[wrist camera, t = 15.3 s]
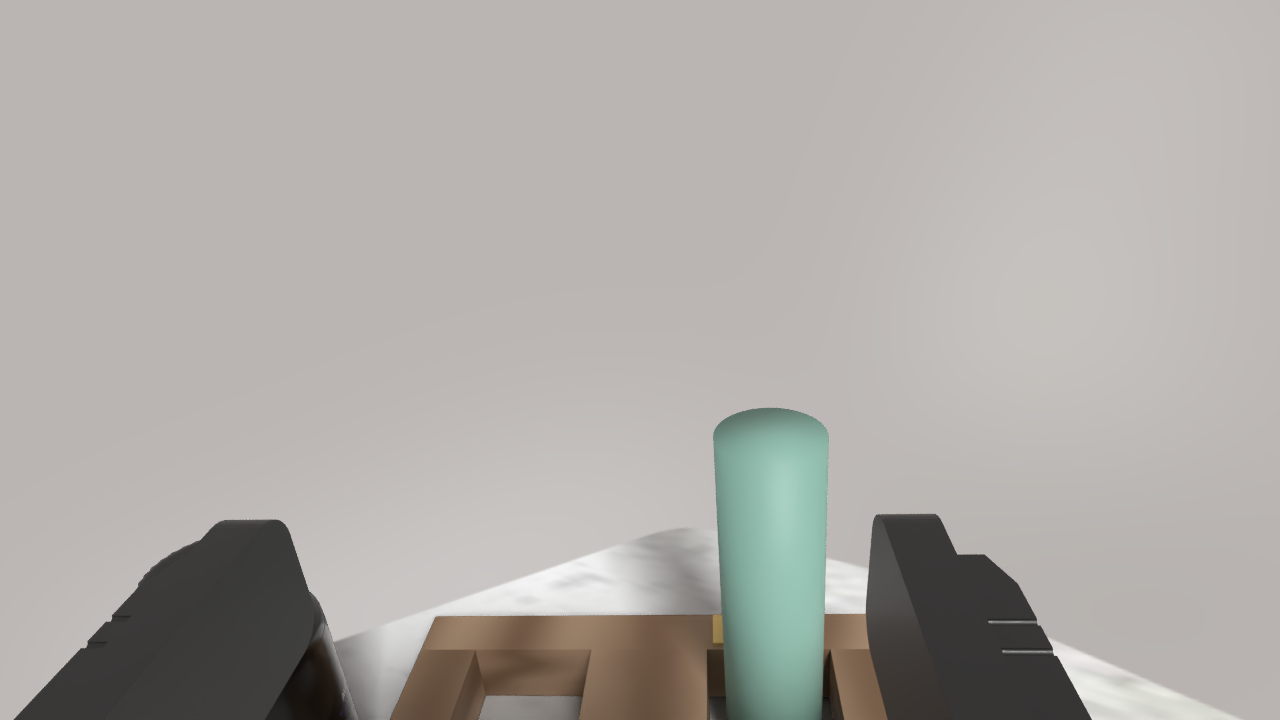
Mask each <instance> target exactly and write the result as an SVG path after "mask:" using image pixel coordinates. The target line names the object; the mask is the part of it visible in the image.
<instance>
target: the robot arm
mask: <svg viewBox="0 0 1280 720" xmlns="http://www.w3.org/2000/svg"><path fill="white" fill-rule="evenodd" d="M313 625H314V608H313V603H312V599H311V596H310V593H309V590H308V587H307V584H306V581H305V578H304V575H303V572H302V569H301V566H300V563H299V560H298V557H297V554H296V551H295V548H294V545H293V542H292V539H291V535H290V533H289V530H288V528H287V527H286V525H285V524H284V523H283V522H281V521H279V520H224V521H221V522H219V523H217V524H216V525H214V526H213V527H212V528H211V529H210V530H209V532H208V533H207V534H206V535H205V536H204V537H203V538H202V539H201V540H200V541H199V542H198V544H197V545H196V546H195V547H194V548H193V549H192V550H191V551H190V552H189V553H188V554H187V556H186V557H185V558H180V559H178V560H177V561H175V562H174V563H172V564H171V565H169V566H168V567H166V568H165V569H163V570H162V571H160V572H159V573H157V574H156V575H155V576H153V577H152V578H150V579H149V580H147V581H146V582H144V583H143V584H141V585H140V586H139V587H138V588H137V590H136V591H135V592H134V593H133V594H132V595H131V596H130V597H129V598H128V599H127V600H126V601H125V602H124V603H123V604H122V605H121V607H120V608H119V609H118V610H117V611H116V612H115V613H114V614H113V615H112V621H111V622H105V623H104V625H103V626H102V627H101V628H100V629H99V630H98V631H97V632H96V633H95V634H94V635H93V636H92V637H91V638H90V639H89V640H88V645H87V647H86V648H81V649H80V650H79V651H78V652H77V653H76V654H75V655H74V656H73V657H72V658H71V659H70V661H69V662H68V663H67V664H66V665H65V666H64V667H63V668H62V669H61V670H60V671H59V672H58V673H57V674H56V675H55V676H54V677H53V679H52V680H51V681H50V682H49V683H48V684H47V685H46V686H45V687H44V688H43V689H42V690H41V691H40V692H39V693H38V694H37V695H36V697H35V698H34V699H33V700H32V701H31V702H30V703H29V704H28V705H27V706H26V707H25V708H24V709H23V710H22V711H21V712H20V714H19V715H18V716H17V717H16V718H15V719H14V720H265V718H266V717H267V715H268V713H269V712H270V710H271V708H272V707H273V705H274V703H275V702H276V700H277V698H278V696H279V695H280V693H281V691H282V690H283V688H284V686H285V685H286V683H287V681H288V680H289V678H290V676H291V675H292V673H293V671H294V670H295V668H296V666H297V665H298V663H299V661H300V660H301V658H302V656H303V655H304V653H305V651H306V649H307V647H308V645H309V642H310V639H311V636H312V631H313ZM866 626H867V636H868V643H869V649H870V654H871V658H872V662H873V666H874V669H875V673H876V677H877V681H878V685H879V688H880V692H881V696H882V700H883V704H884V707H885V711H886V715H887V719H888V720H1092V719H1091V717H1090V715H1089V714H1088V712H1087V710H1086V708H1085V706H1084V704H1083V703H1082V701H1081V699H1080V697H1079V695H1078V693H1077V692H1076V690H1075V688H1074V686H1073V684H1072V682H1071V681H1070V679H1069V677H1068V675H1067V673H1066V671H1065V670H1064V668H1063V666H1062V664H1061V662H1060V660H1059V659H1058V657H1057V656H1054V654H1053V648H1052V646H1051V644H1050V642H1049V640H1048V638H1047V637H1046V635H1045V633H1044V631H1043V629H1042V627H1041V626H1038V625H1037V618H1036V616H1035V615H1034V613H1033V611H1032V609H1031V607H1030V605H1029V604H1028V602H1027V600H1026V598H1025V596H1024V595H1023V592H1022V591H1021V589H1020V587H1019V585H1018V584H1017V583H1016V582H1015V581H1014V580H1013V579H1012V578H1011V577H1009V576H1008V575H1007V574H1006V573H1005V572H1004V571H1003V570H1001V569H1000V568H999V567H998V566H997V565H996V564H995V563H993V562H992V561H991V560H990V559H989V558H988V557H987V556H985V555H957V553H956V551H955V549H954V547H953V545H952V543H951V540H950V539H949V536H948V534H947V532H946V530H945V528H944V525H943V523H942V522H941V520H940V518H939V517H938V516H937V515H936V514H885V515H884V514H881V515H876V516H875V518H874V521H873V527H872V538H871V550H870V563H869V574H868V586H867V598H866Z"/></svg>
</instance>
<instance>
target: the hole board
mask: <svg viewBox="0 0 1280 720" xmlns="http://www.w3.org/2000/svg"><path fill="white" fill-rule="evenodd" d="M486 695H534V696H583V698H582V704H581V710H580V715H579V720H710V696H718V697H726V688H725V668H724V647H723V626H722V615H607V616H438V617H435V619H434V622H433V624H432V626H431V628H430V631H429V633H428V635H427V637H426V640H425V642H424V644H423V646H422V648H421V651H420V653H419V655H418V657H417V660H416V662H415V664H414V666H413V669H412V671H411V673H410V675H409V678H408V680H407V682H406V684H405V686H404V689H403V691H402V693H401V695H400V698H399V700H398V702H397V704H396V707H395V709H394V711H393V713H392V716H391V718H390V720H478V718H479V715H480V712H481V709H482V706H483V703H484V700H485V696H486ZM822 697H829V699H830V705H831V710H832V716H833V720H888V719H887V715H886V711H885V707H884V704H883V700H882V696H881V692H880V688H879V685H878V681H877V677H876V673H875V669H874V666H873V662H872V658H871V654H870V649H869V643H868V636H867V626H866V614H824V654H823V696H822Z"/></svg>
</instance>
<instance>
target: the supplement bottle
mask: <svg viewBox="0 0 1280 720" xmlns="http://www.w3.org/2000/svg"><path fill="white" fill-rule="evenodd" d="M198 542H199V541H196V542H194V543H192V544H191V545H187V546H185V547H183V548H181V549H180V550H178V551H176V552H173V553H172V554H170V555H169V556H168V557H166V558H164V559H162V560H161V561H160V562H159V563H158V564H156V565H155V566H153V567H152V568H151V569H150V571H149V572H148V573H147V574H145V575H144V577H143V579H142V580H141V581H140V582H139V583H138V587H139V586H140V585H141V584H143V583H144V582H146V581H147V580H149V579H150V578H152V577H153V576H155V575H156V574H157V573H159V572H160V571H162V570H163V569H165V568H166V567H168V566H169V565H171V564H172V563H174V562H175V561H177V560H178V559H180V558H185V557H186V556H187V554H188V553H189V552H190V551H191V550H192V549H193V548H194V547H195V546H196V545H197V544H198ZM136 590H137V589H136ZM136 590H135V591H136ZM309 593H310V596H311V599H312V603H313V608H314V625H313V631H312V636H311V639H310V642H309V645H308V647H307V649H306V651H305V653H304V655H303V656H302V658H301V660H300V661H299V663H298V665H297V666H296V668H295V670H294V671H293V673H292V675H291V676H290V678H289V680H288V681H287V683H286V685H285V686H284V688H283V690H282V691H281V693H280V695H279V696H278V698H277V700H276V702H275V703H274V705H273V707H272V708H271V710H270V712H269V713H268V715H267V717H266V718H265V720H359V718H358V715H357V712H356V709H355V706H354V703H353V700H352V697H351V694H350V691H349V688H348V685H347V682H346V679H345V676H344V673H343V670H342V667H341V664H340V661H339V658H338V655H337V652H336V649H335V646H334V643H333V640H332V637H331V634H330V631H329V628H328V624H327V622H326V618H325V616H324V613H323V610H322V608H321V606H320V603H319V602H318V600H317V599H316V597H315V596H314V595H313V594H312V593H311V592H309Z"/></svg>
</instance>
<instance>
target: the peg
mask: <svg viewBox="0 0 1280 720" xmlns="http://www.w3.org/2000/svg"><path fill="white" fill-rule="evenodd" d="M713 441H714V461H715V480H716V481H715V482H716V502H717V523H718V544H719V564H720V585H721V606H722V626H723V647H724V668H725V688H726V709H727V720H822V696H823V654H824V611H825V569H826V526H827V484H828V441H829V436H828V432H827V429H826V428H825V427H824V425H823V424H822V423H821V422H819V421H818V420H817V419H815V418H813V417H811V416H809V415H807V414H804V413H801V412H798V411H793V410H789V409H781V408H759V409H751V410H747V411H743V412H739V413H736V414H734V415H732V416H729V417H728V418H726V419H724V420H723V421H722V422H721V423H720V424H719V425H718V426H717V427H716V429H715V431H714V436H713Z"/></svg>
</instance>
